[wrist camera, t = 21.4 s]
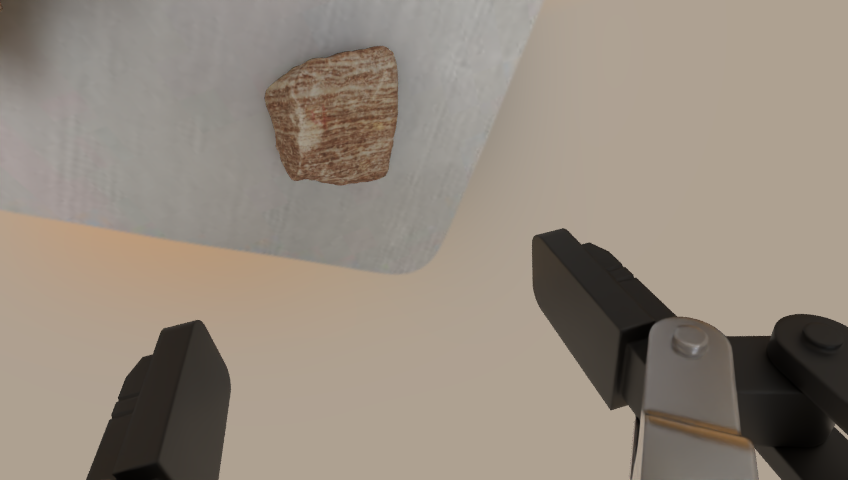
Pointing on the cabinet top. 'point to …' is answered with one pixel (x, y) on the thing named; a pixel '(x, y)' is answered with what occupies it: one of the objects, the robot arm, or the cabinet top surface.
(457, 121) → the cabinet top surface
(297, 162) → the stone
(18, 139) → the cabinet top surface
